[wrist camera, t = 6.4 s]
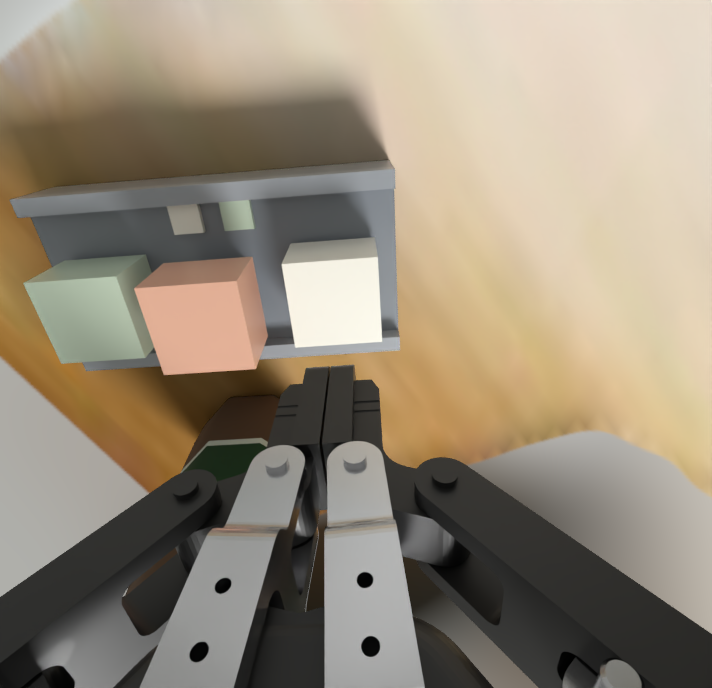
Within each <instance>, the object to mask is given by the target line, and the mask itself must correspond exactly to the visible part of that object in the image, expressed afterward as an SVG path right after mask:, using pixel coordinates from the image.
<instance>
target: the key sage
mask: <svg viewBox="0 0 712 688" xmlns="http://www.w3.org/2000/svg"><path fill="white" fill-rule="evenodd" d="M151 273H152V272H151V269H150V266H149V263H148V260H147V257H146V254H145V255H131V256H118V257H105V258H91V259H78V260H65V261H63V262H61V263H59V264H57V265H55V266H54V267H52V268H50V269H48V270H46V271H44V272H43V273H41V274H39V275H37V276H35V277H34V278H32V279H30V280H28V281H26V282H24V283H23V284H24V286H25V288H26V290H27V292H28V295H29V297H30V299H31V301H32V303H33V305H34V307H35V309H36V311H37V313H38V315H39V318H40V320H41V322H42V324H43V326H44V328H45V330H46V332H47V334H48V336H49V339H50V341H51V343H52V345H53V347H54V349H55V351H56V353H57V355H58V357H59V360H60V362H61V364H63V363H78V362H93V361H107V360H122V359H137V358H146V357H147V355H148V354H149V353H150V352H151V351H152V349H153V348H154V345H153V342H152V339H151V336H150V333H149V331H148V328H147V325H146V322H145V319H144V316H143V313H142V310H141V307H140V305H139V302H138V299H137V296H136V293H135V290H134V288H135V287H136V286H137V285H139V284H140V283H141V282H142V281H143V280H144V279H146V278H147V277H148V276H149V275H150V274H151Z"/></svg>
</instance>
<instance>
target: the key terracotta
mask: <svg viewBox="0 0 712 688" xmlns="http://www.w3.org/2000/svg"><path fill="white" fill-rule="evenodd" d="M134 290H135V293H136V296H137V299H138V302H139V305H140V307H141V310H142V313H143V316H144V319H145V322H146V325H147V328H148V331H149V333H150V336H151V339H152V342H153V345H154V348H155V351H156V354H157V357H158V359H159V362H160V365H161V368H162V371H163V374H164V375H173V374H188V373H203V372H219V371H234V370H249V369H256V367H257V365H258V362H259V359H260V356H261V354H262V351H263V348H264V345H265V343H266V340H267V337H268V334H267V329H266V323H265V318H264V313H263V308H262V303H261V298H260V293H259V288H258V283H257V278H256V272H255V267H254V262H253V257H240V258H226V259H213V260H199V261H186V262H172V263H163V264H162V265H161V266H160V267H159V268H157V269H156V270H155V271H154V272H153V273H151V274H150V275H149V276H148V277H147V278H146V279H144V280H143V281H142V282H141V283H140V284H139V285H137V286H136V287H135V288H134Z"/></svg>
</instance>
